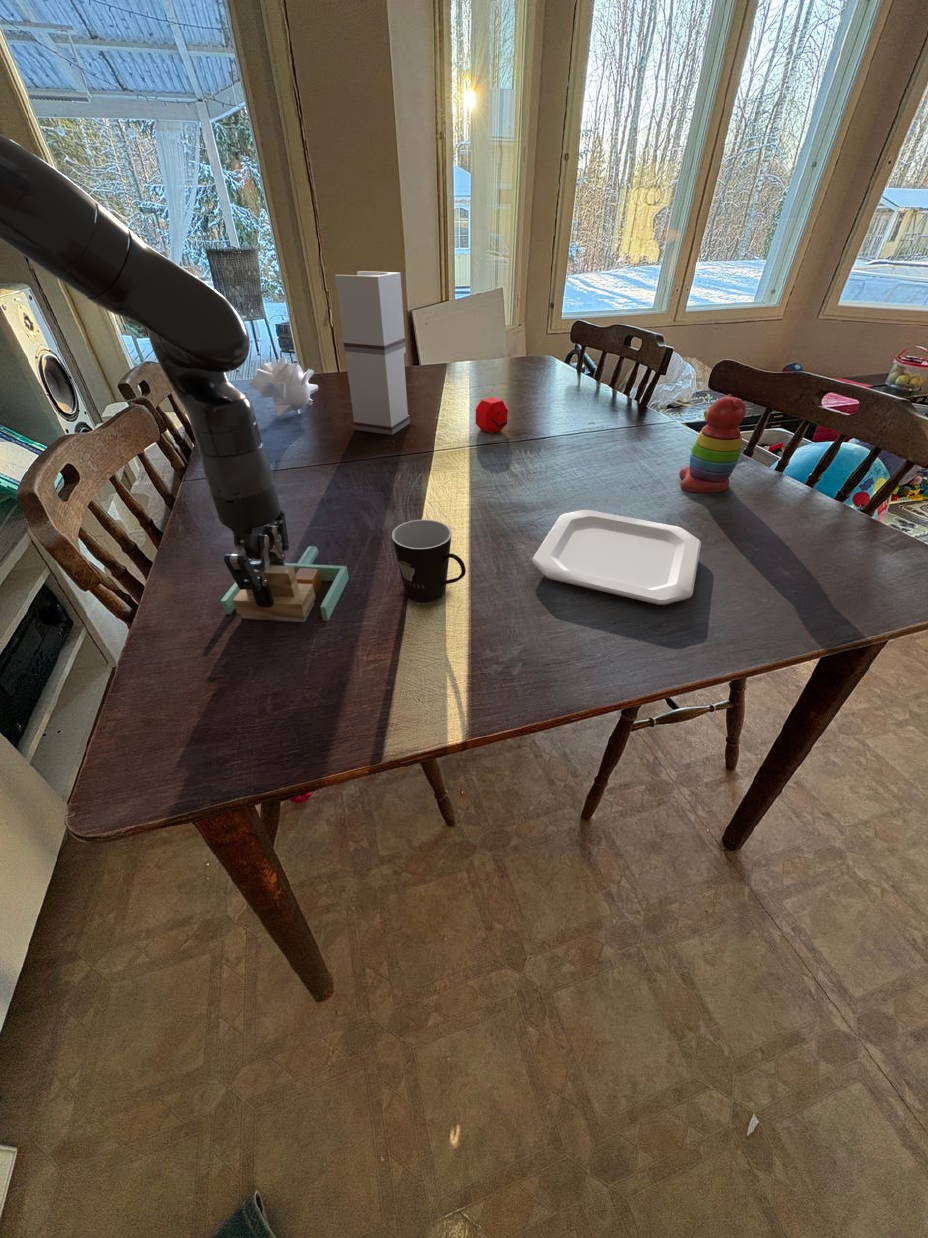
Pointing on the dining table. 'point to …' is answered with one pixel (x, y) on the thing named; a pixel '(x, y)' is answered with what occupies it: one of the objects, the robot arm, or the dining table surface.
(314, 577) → the crumb
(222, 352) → the robot arm
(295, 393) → the white spiky ornament
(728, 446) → the stacking bear
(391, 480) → the dining table surface
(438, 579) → the coffee mug
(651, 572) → the plate
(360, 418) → the white banded pillar
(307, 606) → the stepped wooden block
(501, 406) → the ball
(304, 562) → the green u-shaped pusher
